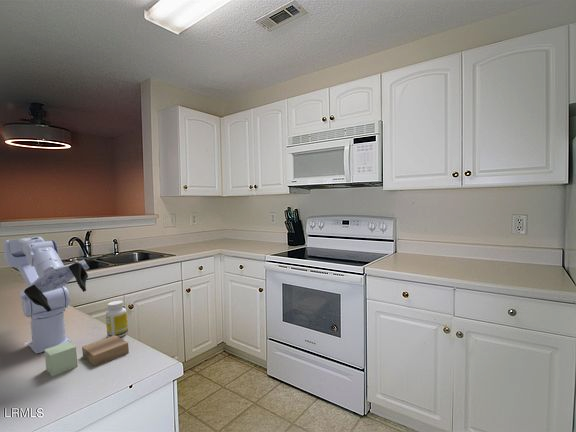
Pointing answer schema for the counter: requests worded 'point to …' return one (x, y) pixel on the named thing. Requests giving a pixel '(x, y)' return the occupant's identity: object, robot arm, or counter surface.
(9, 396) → the counter surface
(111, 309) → the supplement bottle
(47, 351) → the sage cube
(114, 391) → the counter surface
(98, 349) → the walnut block
